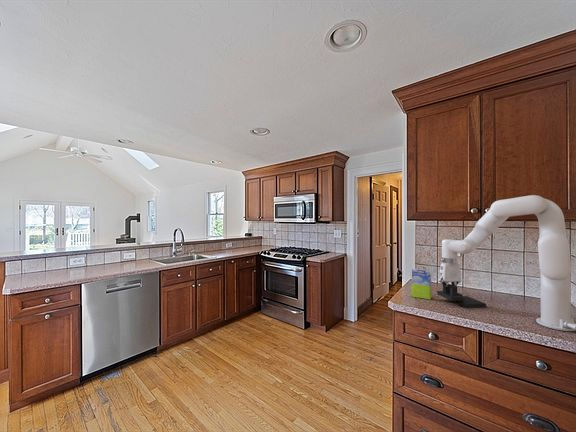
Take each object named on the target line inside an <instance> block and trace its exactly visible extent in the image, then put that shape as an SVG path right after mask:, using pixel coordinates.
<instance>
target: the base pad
mask: <svg viewBox="0 0 576 432" xmlns="http://www.w3.org/2000/svg"><path fill="white" fill-rule="evenodd" d="M463 297H464V300H463V301H451V300H449V299H447V301H449V302H452V303H459V306H460V307H463V308H465V309H475V308H487V303H485V302H483V301H481V300H478V299H475V298H473V297H470V296H468V295H463Z"/></svg>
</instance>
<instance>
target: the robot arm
mask: <svg viewBox="0 0 576 432" xmlns="http://www.w3.org/2000/svg"><path fill="white" fill-rule="evenodd" d="M525 215H535V216H536V218H537V221H538V234H539V235H538V236H539V237H538V239H537V252H538V266H539V267H538V268H539V272H540V273H539V275H540V278H539V279H540V280H539V281H540V284H539V285H540V287H539V288H540V289H539V291H540V295H539V296H540V317H537V318H536V319H535V322H536V323H537V324H538V325H539V326H542V327H545V328H549V329H551V330H557V331H563V332H576V323H575V319H573V318H572V297H571V295H572V288H571V287H572V285H571V283H572V282H571V275H572V274H571V273H572V263H571V262H572V261H571V260H572V258H571V247H570V241H569V239H568V238H567V230H566V229H567V228H566V223H565V215H564V213H563V210H562V209H561V207H560V206H559V205H558V204H556V203H555V202H554V201H552V200H550V199H547V198H544V197H542V196H541V195H538V194H537V195H536V194H531V195H524V196H523V195H522V196H518V197H517V196H516V197H512V198H506V199H499V200H495V201H493V202H492V204H491V205H490V208H489V209H488V210H487V211H486V212H485V213H484V214H483V216H481V218H479V219H478V220H477V221H476V223H475V226H474V227H473V229H472V230H471V231H470V233H469V234H468V235H467V236H466V237H465V238H464V239H460V240H457V239H454V238H453V239H451V238H445V239H442V240H441V258H440V262H441V263H440V267H439V277H438V282H439V283H440V284H442V287H443V286H444V292H445V293H447V294H449V287H448V284H451V285H454V286H456V287H458V284H460V283H461V282H462V272H461V266H460V264H459V263H458V254H461V255H462V254H463V255H468V254H470V253H472V252H474V251H475V250H476V249H477V248H478V247H480V246H481V245H482V244H483V243H484V242H485V241H486V240H487V239H488V238H489V237H490V236H491V235H492V234H493V233H495V232H496V230H497V229H498V228H499V227H500V226H501V225H502V224H503V223H504V222H505V221H507V219H509V218H511V217H517V216H519V217H520V216H525Z"/></svg>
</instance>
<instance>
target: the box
mask: <svg viewBox="0 0 576 432" xmlns="http://www.w3.org/2000/svg"><path fill="white" fill-rule="evenodd" d="M411 297H412V298H419V299H425V300H430V301H431V300H432V273H431V271H430V270H423V269H416V268H411Z"/></svg>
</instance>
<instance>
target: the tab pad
mask: <svg viewBox="0 0 576 432" xmlns="http://www.w3.org/2000/svg"><path fill="white" fill-rule="evenodd" d="M448 287H449V294H447V293H445V292H444V286H443V285H442V290H437V291H436V294H437V295H438V296H440V297H442V298H444V299H446V300H448V299H449V300H451V301H463V300H464V297H463V296H464V295H463V294H462V293H460V292H458V286H454V285H451V283H448ZM449 300H448V301H449ZM451 301H450V302H451Z"/></svg>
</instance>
